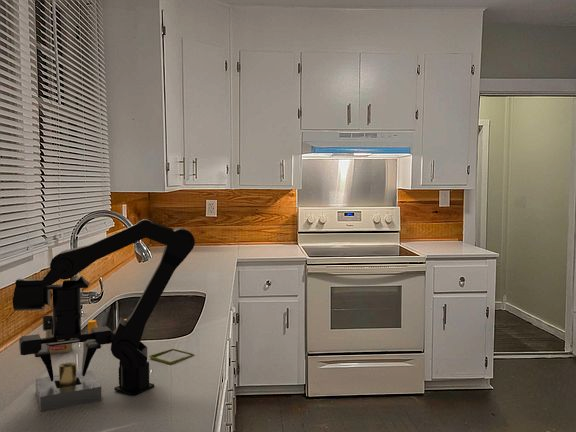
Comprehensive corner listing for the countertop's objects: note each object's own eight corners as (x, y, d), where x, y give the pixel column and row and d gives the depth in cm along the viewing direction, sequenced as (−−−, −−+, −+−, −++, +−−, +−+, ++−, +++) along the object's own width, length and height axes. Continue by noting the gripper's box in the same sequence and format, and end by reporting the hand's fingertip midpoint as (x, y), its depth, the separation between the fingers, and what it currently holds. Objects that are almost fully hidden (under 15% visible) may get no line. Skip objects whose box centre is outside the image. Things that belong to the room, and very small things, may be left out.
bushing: (80, 395, 117) (79, 363, 116) (66, 400, 114) (65, 368, 113) (69, 392, 119) (69, 361, 118) (56, 397, 116) (55, 365, 115)
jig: (101, 400, 114) (101, 386, 114) (40, 411, 108) (40, 397, 108) (91, 382, 124) (91, 370, 124) (35, 392, 118) (35, 379, 118)
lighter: (44, 354, 146) (43, 318, 146) (48, 350, 150) (47, 315, 149) (71, 353, 147) (70, 317, 147) (74, 349, 151) (73, 314, 150)
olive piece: (173, 355, 147) (173, 348, 147) (195, 361, 142) (195, 353, 141) (148, 363, 140) (148, 355, 140) (170, 370, 135) (170, 362, 134)
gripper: (103, 297, 127) (104, 361, 128) (17, 305, 118) (18, 374, 118) (113, 306, 117) (114, 375, 118) (20, 316, 108) (21, 390, 109)
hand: (67, 378), depth 116 cm, fingers open, 6 cm apart
